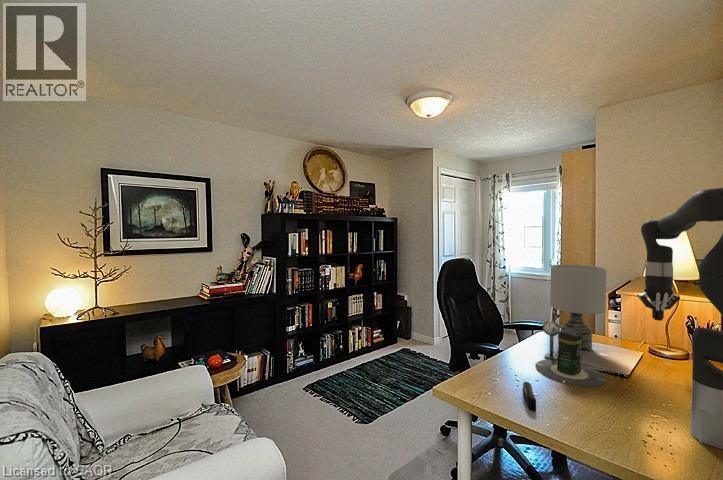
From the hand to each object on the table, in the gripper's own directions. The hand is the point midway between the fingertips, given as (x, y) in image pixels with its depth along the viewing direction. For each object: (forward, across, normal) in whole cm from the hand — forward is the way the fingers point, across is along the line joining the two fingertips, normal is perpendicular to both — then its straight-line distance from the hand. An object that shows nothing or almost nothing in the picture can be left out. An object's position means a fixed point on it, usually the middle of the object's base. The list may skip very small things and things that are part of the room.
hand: (657, 320), depth 118 cm
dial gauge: (+29, +25, -31) cm, 49 cm away
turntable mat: (+29, +23, -16) cm, 40 cm away
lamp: (+29, +7, -48) cm, 57 cm away
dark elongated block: (+30, +48, +11) cm, 57 cm away
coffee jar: (+29, +23, -16) cm, 40 cm away
